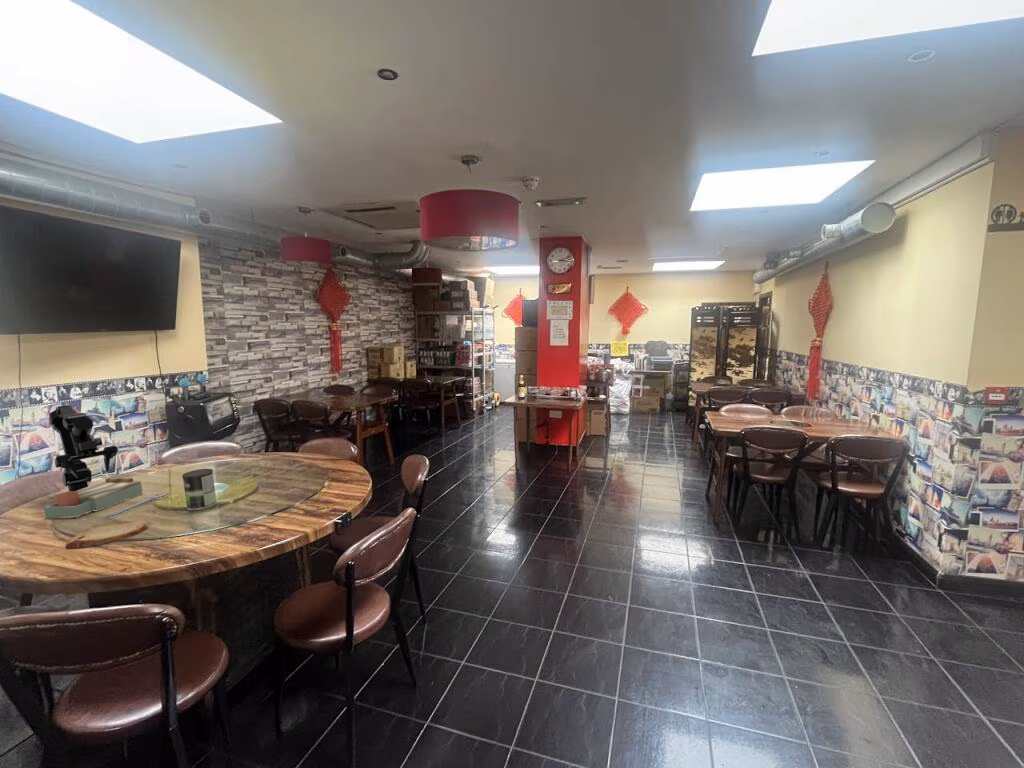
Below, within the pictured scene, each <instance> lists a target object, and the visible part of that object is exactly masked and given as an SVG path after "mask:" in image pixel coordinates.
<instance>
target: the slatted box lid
mask: <svg viewBox="0 0 1024 768" xmlns="http://www.w3.org/2000/svg"><path fill="white" fill-rule="evenodd" d="M139 483H141V484H142V482H141V480H134V479H133V477H108V478H105V480H104V481H101V482H98V483H95V484H93V485H90V486H89V485H88V487H86V488H83V489H80V490H77V491H78V495H79V500H95V499H98V498H101V497H104V496H106V495H109V494H112V493H114V492H117V491H120V490H123V489H125V488H128V487H131V486H133V485H136V484H139ZM55 497H56V496H55ZM56 501H57V497H56Z"/></svg>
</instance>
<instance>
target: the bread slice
mask: <svg viewBox="0 0 1024 768" xmlns="http://www.w3.org/2000/svg"><path fill="white" fill-rule="evenodd" d="M147 530H149V526H148V525H147V524H146V523H145V522H143V521H136V522H127V523H126V522H125V523H117V524H111V525H106V526H100V527H93V528H91V527H90V528H86V529H85V530H82V531H80V532H79V533H77V534H75V535H74V536H73V537H71V538H70V539H69V540H68V541H67V542H66V543H65V549H86V548H87V549H88V548H90V547H96V546H102V545H105V544H110V543H114V542H119V541H121V540H125V539H127V538H131V537H134V536H137V535H139V534H141V533H143V532H145V531H147Z"/></svg>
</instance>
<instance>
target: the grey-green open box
mask: <svg viewBox="0 0 1024 768" xmlns="http://www.w3.org/2000/svg"><path fill="white" fill-rule="evenodd" d="M142 488H143V487H142V482H141V483H139V484H136V485H133V486H131V487H128V488H125V489H123V490H120V491H117V492H114V493H112V494H109V495H106V496H104V497H101V498H98V499H95V500H79V501H80V504H79V505H77V506H58V503H57V502H55V503H53V504H49V505H47V506H43V511H44V517H45V519H56V518H55V517H64V516H65V517H66V516H67V517H68V516H78V515H81V514H84V513H86V512H89V511H92V510H99V509H102V508H105V507H107V506H110V505H113V504H115V503H118V502H120V501H123V500H125V499H128V498H130V497H133V496H136V495H138V494H141V493H143V489H142ZM141 495H142V494H141ZM138 496H139V495H138ZM136 497H137V496H136ZM133 498H134V497H133ZM128 500H129V499H128ZM123 502H124V501H123ZM118 504H119V503H118ZM113 506H114V505H113ZM105 509H106V508H105Z"/></svg>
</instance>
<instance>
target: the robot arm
mask: <svg viewBox="0 0 1024 768" xmlns="http://www.w3.org/2000/svg"><path fill="white" fill-rule="evenodd" d="M48 423H49V424H50V426H51V427H52V429H53V430H54V431H55V432H56V433H58V434H59V437H60V441H61V445H62V449H63V453H64V454H62V455H61V454H60V455H57V456H56V457H55V458H54V465H55V468H60V469H64V470H63V474H62V484H63V486H65V487H67V488H68V491H77V490H80V489H83V488H86V487H89V485H88V482H92V480H93V479H92V470H91V469H90V468H89V467H88V465H87V462H85V461H83V460H84V459H85V460H86V459H90V458H95V457H96V458H97V457H100V456H103V462H104V466H105V470H106V472H109V471H110V470H109V469H110V462H111V459H114V457H116V456H117V455H118V452H119V449H118V447H117V446H116V445H110V446H105V447H104V448H103V450H98V447H99V446H102V445H103V440H102V438H101V437H95V438H94V439H93V438H92V436H91V434H92V430H93V427H94V420H93V419H92V418H91V417H89V416H88V415H87V414H86V413H84V412H77V411H76V410H75V409H74V408H73V405H71V404H70V405H69V404H67V405H59V406H57V407H55V409H54V410H53V411H52V412H50V413H49V415H48ZM97 450H98V451H97Z"/></svg>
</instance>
